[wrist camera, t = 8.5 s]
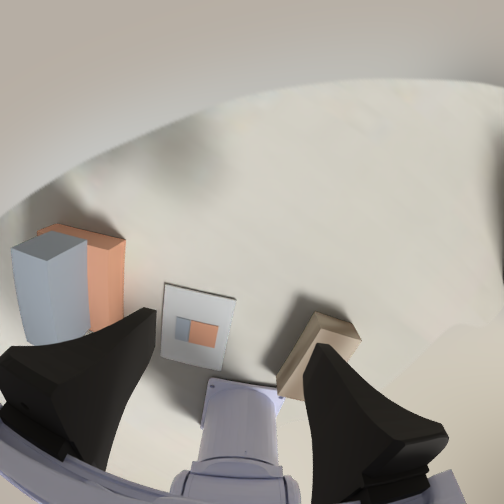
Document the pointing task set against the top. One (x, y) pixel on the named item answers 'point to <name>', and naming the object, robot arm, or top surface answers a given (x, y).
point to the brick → (316, 331)
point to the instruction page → (195, 327)
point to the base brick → (100, 274)
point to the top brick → (52, 287)
